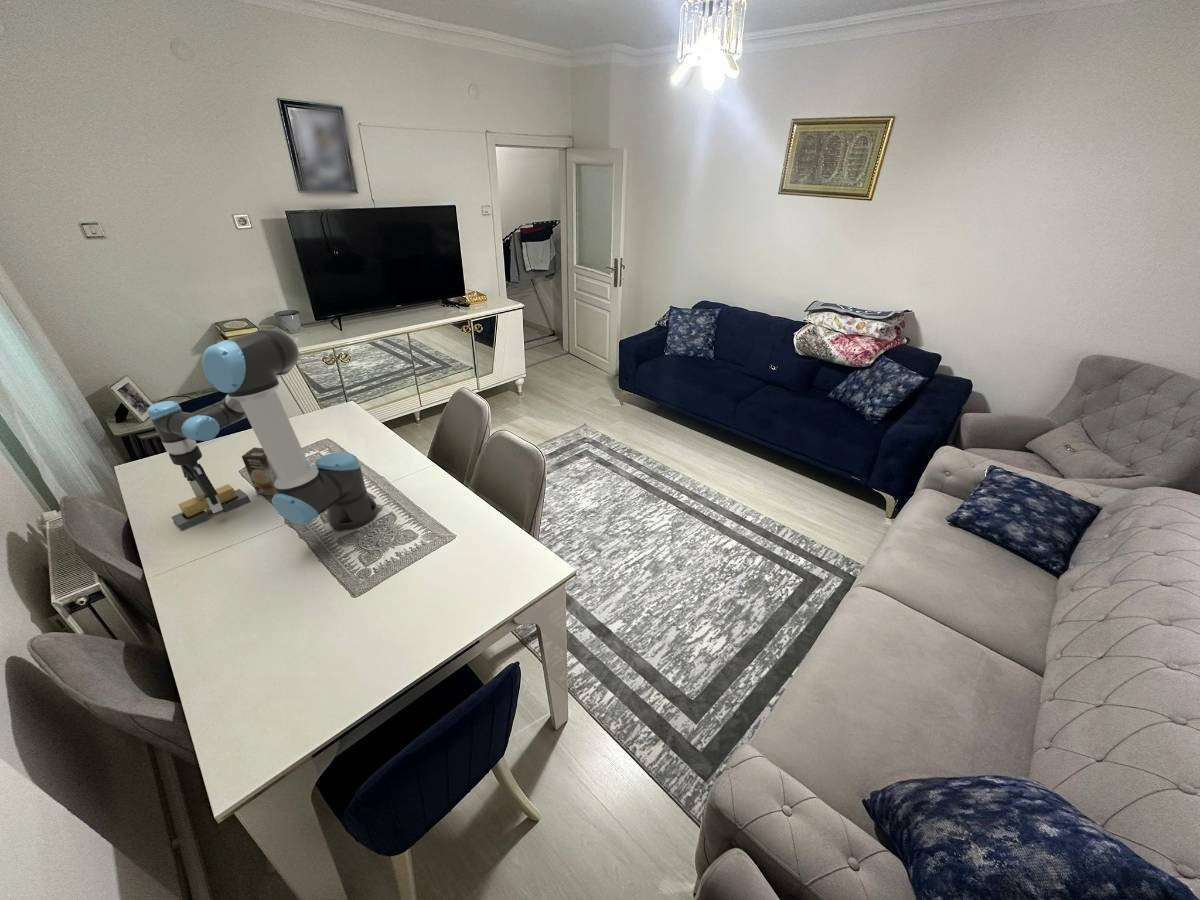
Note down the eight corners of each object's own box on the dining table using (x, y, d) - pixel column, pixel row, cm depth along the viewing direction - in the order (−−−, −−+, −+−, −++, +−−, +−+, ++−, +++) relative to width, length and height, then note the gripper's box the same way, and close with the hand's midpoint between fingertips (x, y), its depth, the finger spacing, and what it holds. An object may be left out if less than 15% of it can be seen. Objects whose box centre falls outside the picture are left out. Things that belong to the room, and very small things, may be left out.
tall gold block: (240, 503, 167) (233, 488, 164) (191, 524, 157) (182, 508, 154) (235, 499, 169) (228, 484, 166) (186, 519, 159) (178, 504, 156)
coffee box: (255, 494, 172) (239, 456, 164) (268, 484, 177) (253, 447, 169) (280, 496, 171) (264, 458, 163) (291, 486, 176) (277, 448, 168)
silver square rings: (250, 501, 168) (248, 495, 167) (182, 530, 154) (179, 524, 153) (241, 494, 172) (239, 488, 170) (174, 522, 157) (171, 516, 156)
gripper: (213, 456, 147) (238, 511, 158) (182, 433, 159) (207, 485, 170) (183, 466, 142) (211, 523, 152) (154, 442, 154) (182, 495, 165)
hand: (209, 503), depth 161 cm, fingers open, 13 cm apart
